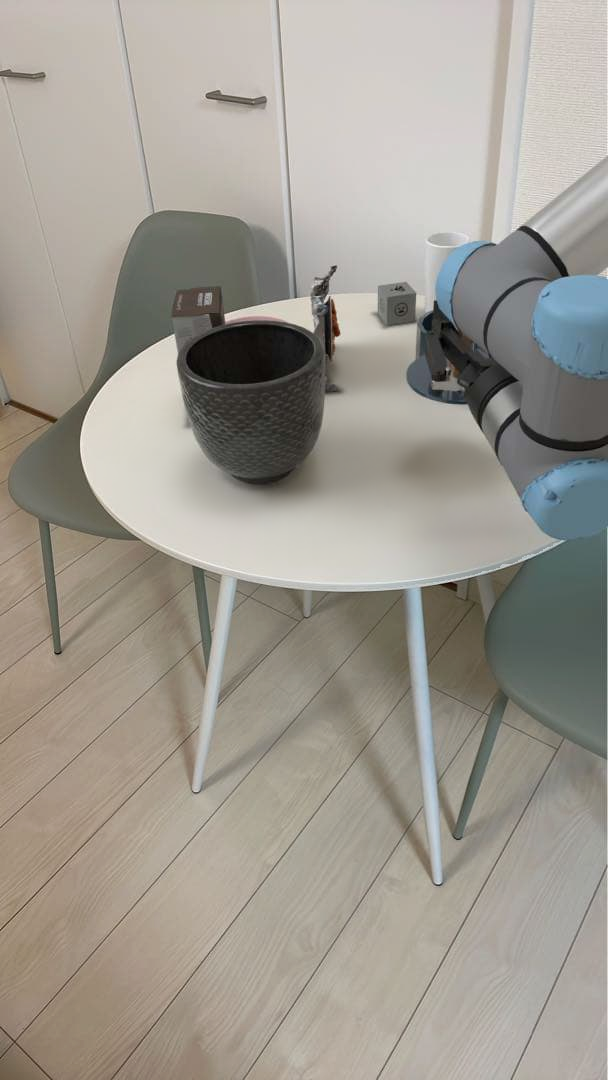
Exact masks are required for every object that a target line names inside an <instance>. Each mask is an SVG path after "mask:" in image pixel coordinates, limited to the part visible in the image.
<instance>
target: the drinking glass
mask: <svg viewBox="0 0 608 1080" xmlns="http://www.w3.org/2000/svg"><path fill="white" fill-rule="evenodd" d="M424 243H425V244H424V254H423V285H424V286H423V287H424V314H425V313H427V312H428V311H432V310H433V307H434V300H437V299H436V294H435V286H436V280H437V276H438V273H439V270H440V268H441V266H442V265H443V263H444V261H445V260H446V259H447V257H448V256H449V255H450V254H451V253H452V252H453V251H454V250H456V249H457V248H458V247H460V246H462V245H464V244H468V243H471V238H470V237H469V236H468V235H466V234H464V233H461V232H455V231H439V232H435V233H432V234H428V236H426V238H425V242H424Z"/></svg>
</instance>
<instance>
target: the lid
mask: <svg viewBox="0 0 608 1080" xmlns="http://www.w3.org/2000/svg"><path fill="white" fill-rule="evenodd" d="M455 333H456V334H457V335H458V336H459V337H460V338H461V339H462V340H463V341H464V342H465V343H466V344H467V345H468V346H469V347H470V348H471V349H472V350H473V351H474V342H473V341H472V340H471V339H469V338H468V337H467V336H464V335H463V334H462V333H461V332H460V331H458V330H457V329H456V328H455ZM479 352H480V351H479ZM480 353H481V354H482V355H483V356H484V357H485V358H489V355H488V353H485V352H480ZM445 358H446V357H445ZM446 362H447V367H449V368H451V372H450V373H452V374H453V376H454V377H455V378H458V377H459V376H460V375H461V374H460V373H459V371H458V370H457V369H456V368H455V367H454V366H453V365H452V364H451V363H450V361H449V360H448V359H447V358H446ZM431 378H432V377H431V374H430V370H429V367H428V364H427V360H426V357H425V355H423V356H421V357H419V358H417V359H416V360H415V359H414V360H413V361H412V362H411V363H409V365H408V367H407V369H406V372H405V379H406V382H407V384H408V387H410V389H412V390H413V392H415V393H416V394H418V395H420V396H421V397H424V398H426V399H427V400H431V401H435V402H437V403H442V404H447V405H448V404H449V405H461V406H462V405H468V403H467V401H466V400H464V399H462V398H460V397H459V396H458V395H457V392H456V391H449V390H448V391H445V390H444V391H443V394H442V395H441V396H432V395H431Z"/></svg>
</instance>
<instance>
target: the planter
mask: <svg viewBox="0 0 608 1080" xmlns="http://www.w3.org/2000/svg"><path fill="white" fill-rule="evenodd" d="M287 322H288V321H286V322H280V321H270V320H252V321H242V322H235V323H230V324H225V325H222V326H218V327H215V328H212V329H209V330H207V331H205V332H203V333H200V334H198V335H197V336H195V337H194V338H192V339H191V340H189V341H188V342H187V343H186V344H185V345H184V346H183V347H182V349H181V350H180V352H179V354H178V353H177V358H176V370H177V376H178V381H179V385H180V386H179V387H180V391H181V397H182V402H183V404H184V407H185V412H186V416H187V418H188V419H187V420H188V422H189V425H190V429H191V431H192V434H193V437H194V439H195V440H196V442H197V445H198V446H199V449H200V450H201V452H202V453H203V454H204V455H205V456H206V458H207V459H208V460H209V461H210V462H211V463H212V464H213V465H215V466H216V467H217V468H219V469H220V470H222V471H224V472H225V473H227V474H230V475H231V476H232V477H233V478H234V479H235V480H238V481H239V482H242V483H246V484H251V485H268V484H273V483H276V482H279V481H281V480H283V479H285V478H286V477H288V476H289V475H291V474H292V473H293V472H294V471H295V469H296V468H297V467H298V466H299V465H300V464H301V463H303V462H304V461H305V460H306V459H307V458H308V457H309V455H310V454H311V452H312V451H313V450H314V448H315V446H316V444H317V442H318V439H319V437H320V434H321V430H322V426H323V420H324V413H325V400H326V392H325V377H326V376H325V375H326V357H325V356H324V349H323V345H322V343H321V341H320V339H319V338H318V337H317V336H316V335H315V334H313V332H312V331H311V330H309V329H307V328H305V327H303V326H300V325H298V324H294V323H290V322H288V323H287Z"/></svg>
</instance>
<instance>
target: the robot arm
mask: <svg viewBox="0 0 608 1080" xmlns="http://www.w3.org/2000/svg"><path fill="white" fill-rule="evenodd" d="M607 269H608V155H606V156H605V157H604V158H603V159H601V160H600V161H599V162H597V163H596V164H595V165H594V166H593V167H592V168H590V169H589V170H588V171H586V172H585V173H584V174H583V175H581V176H580V177H579V178H578V179H577V180H575V181H574V182H573V183H571V184H570V185H569V186H568V187H567V188H566V189H564V190H563V191H561V193H560V194H558V195H557V196H555V198H553V199H552V200H551V201H549V202H548V203H547V204H546V205H544V206H543V207H542V208H541V209H539V210H538V211H537V212H536V213H535V214H534V215H532V216H531V217H530V218H528V219H527V220H526V221H525V222H524V223H522V224H521V225H520V226H519V227H518V228H517V229H516V230H514V231H513V232H511V233H510V234H509V235H508V236H506V237H505V238H503V240H501V241H500V242H499V243H495V242H492V241H491V242H489V241H486V240H476V241H470V243H468V244H464V245H462V246H460V247H458V248H457V249H456V250H454V251H453V252H452V253H451V254H450V255H449V256H448V257H447V259H446V260H445V261H444V263H443V265H442V266H441V268H440V270H439V273H438V276H437V280H436V286H435V294H436V299H437V300H434V307H433V321H432V331H428V332H426V336H425V357H426V360H427V364H428V367H429V370H430V374H431V377H432V378H431V395H432V396H441V395H442V394H443V391H444V390H445V391H448V390H449V391H456V392H457V395H458V396H459V397H460V398H462V399H464V400H466V401H467V403H468V404H467V406H468V409H469V412H470V414H471V415H472V417H473V419H474V421H475V422H476V424H477V426H478V428H479V429H480V431H481V433H482V434H483V437H484V438H485V439H486V441H487V443H488V445H489V446H490V448H491V449H492V451H493V453H494V454H495V457H496V459H497V460H498V461H499V463H500V465H501V466H502V468H503V470H504V472H505V474H506V475H507V478H508V479H509V481H510V483H511V485H512V486H513V489H514V490H515V492H516V494H517V496H518V498H519V500H520V504H521V506H522V508H523V510H524V511H525V512H526V513H528V515H529V516H530V518H531V519H532V520H533V521H534V523H535V525H536V526H537V527H538V529H539V530H540V531H541V532H542V533H543V534H545V535H546V536H548V537H550V538H552V539H555V540H558V541H568V542H569V541H576V540H584V539H587V538H590V537H593V536H595V535H598V534H599V533H601V532H602V531H604V530H606V529H607V528H608V278H606V277H605V276H604V275H600V274H602V273H603V272H604V271H605V270H607ZM455 328H456V329H457V330H458V331H460V332H461V333H462V334H463V335H464V336H467V337H468V338H469V339H471V340H472V341H473V342H474V343H476V344H477V345H478V346H480V347H481V348H482V349H483V350H485V351H486V352H487V353H488V355H489V358H485V357H484V356H483V355H482V354H481V353H480V352H479V351H478V350H474V351H473V350H472V349H471V348H470V347H469V346H468V345H467V344H466V343H465V342H464V341H463V340H462V339H461V338H460V337H459V336H458V335H457V334H456V333H455ZM445 357H446V358H447V359H448V360H449V361H450V363H451V364H452V365H453V366H454V367H455V368H456V369H457V370H458V371H459V373H460V374H461V375H460V376H459V377H458V378H455V377H454V376H453V374H452V373H450V372H451V368H449V367H447V362H446V358H445Z"/></svg>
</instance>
